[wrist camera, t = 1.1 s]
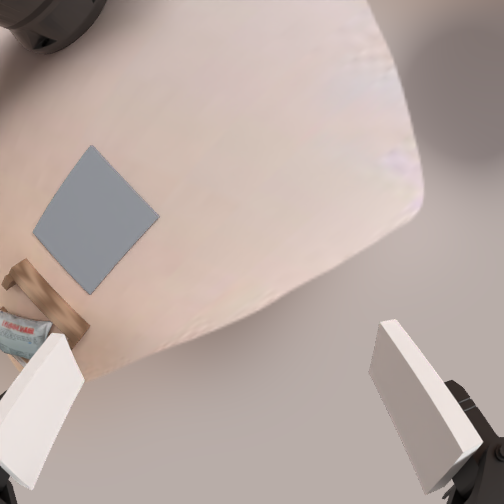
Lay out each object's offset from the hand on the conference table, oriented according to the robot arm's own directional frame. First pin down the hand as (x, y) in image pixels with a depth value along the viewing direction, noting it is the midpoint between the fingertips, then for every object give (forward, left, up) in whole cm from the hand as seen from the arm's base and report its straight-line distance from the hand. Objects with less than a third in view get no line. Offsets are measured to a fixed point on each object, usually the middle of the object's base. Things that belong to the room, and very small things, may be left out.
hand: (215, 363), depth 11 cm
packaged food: (-10, -36, -27) cm, 47 cm away
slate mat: (-13, -15, -26) cm, 32 cm away
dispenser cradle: (-11, -37, -26) cm, 46 cm away
